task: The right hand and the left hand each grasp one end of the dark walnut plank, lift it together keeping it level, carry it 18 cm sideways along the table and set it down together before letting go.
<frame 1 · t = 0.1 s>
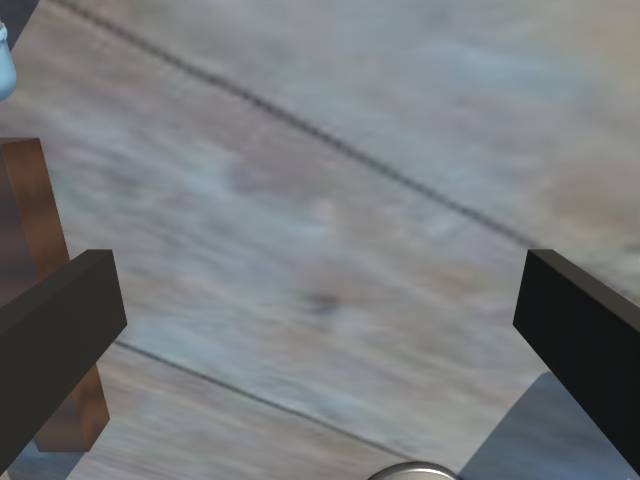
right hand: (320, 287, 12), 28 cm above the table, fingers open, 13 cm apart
plank: (53, 298, 44), on the table
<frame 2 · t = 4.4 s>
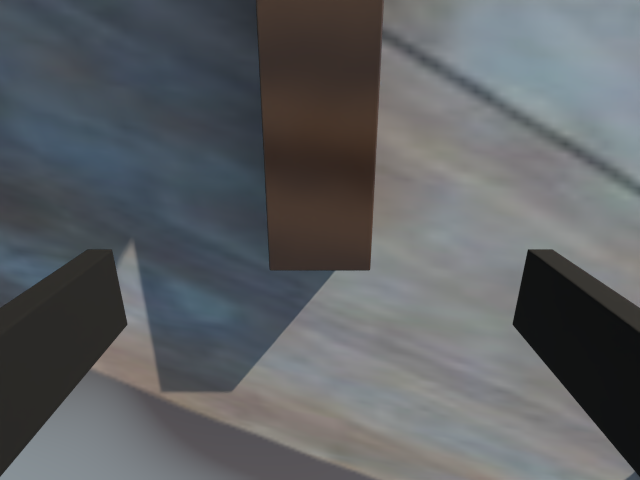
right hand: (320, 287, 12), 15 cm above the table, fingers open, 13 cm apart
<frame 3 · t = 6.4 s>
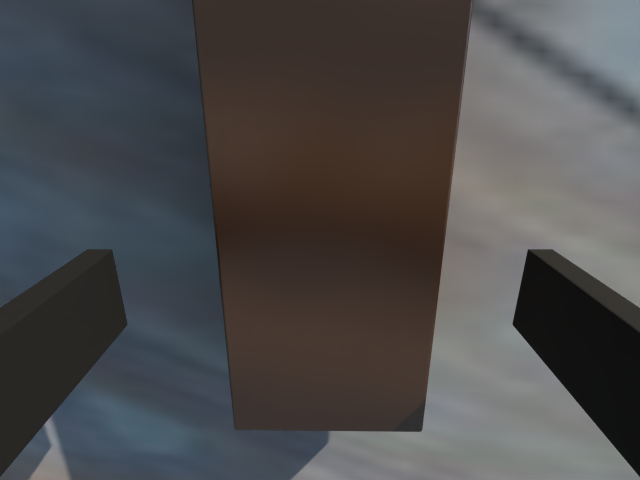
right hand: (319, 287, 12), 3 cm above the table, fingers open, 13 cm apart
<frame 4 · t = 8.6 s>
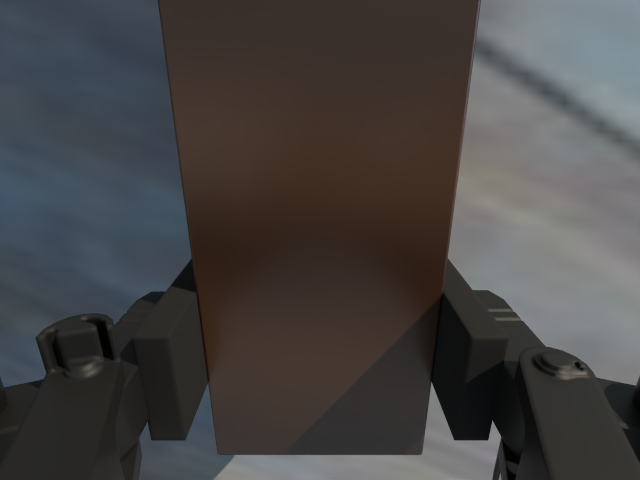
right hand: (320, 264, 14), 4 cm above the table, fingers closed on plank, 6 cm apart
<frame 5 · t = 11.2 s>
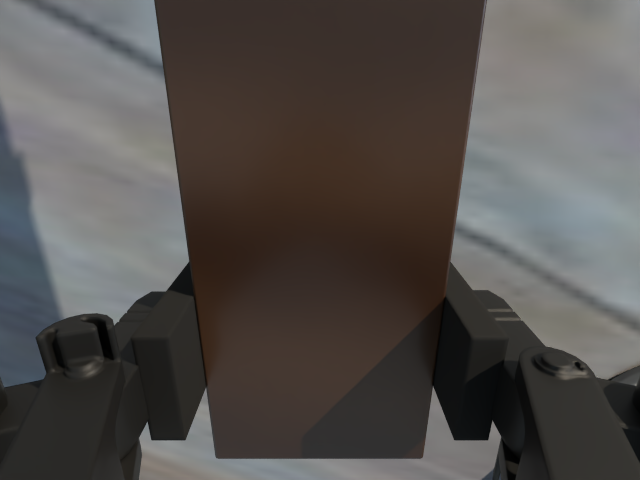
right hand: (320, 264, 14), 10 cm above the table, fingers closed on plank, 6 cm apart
when the right hand's fingers open (0 cm above the table, at t = 14.0 s): plank stays where it is, held by the left hand.
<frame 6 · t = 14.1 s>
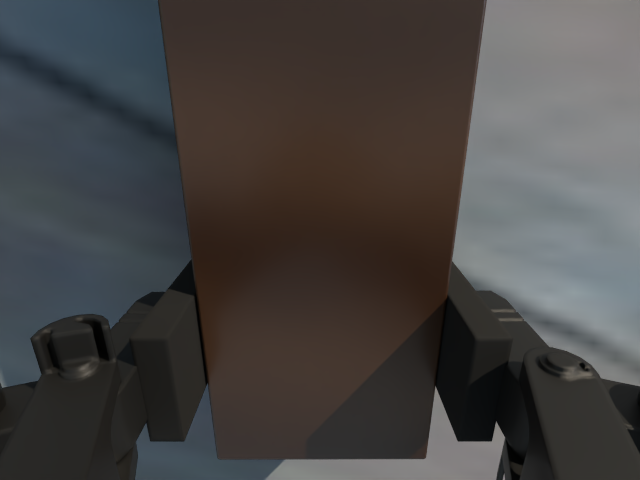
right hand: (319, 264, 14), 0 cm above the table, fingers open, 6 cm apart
when the left hand's fingers open (0 cm above the table, at t = 14.3 s): plank stays where it is, on the table.
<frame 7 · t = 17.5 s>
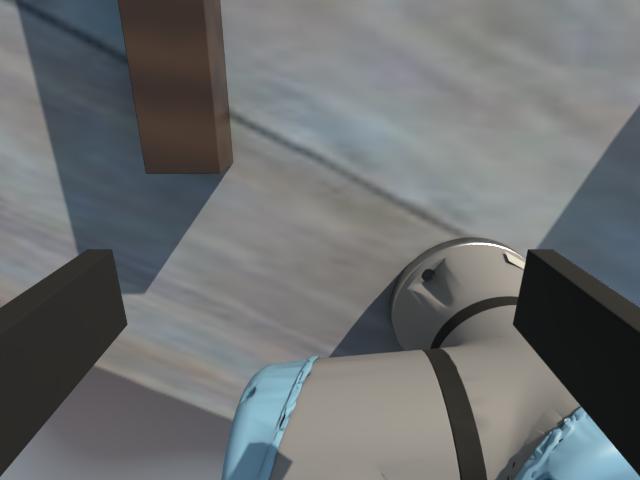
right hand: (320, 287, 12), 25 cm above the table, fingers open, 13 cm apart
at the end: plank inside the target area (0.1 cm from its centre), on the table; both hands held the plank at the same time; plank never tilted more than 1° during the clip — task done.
